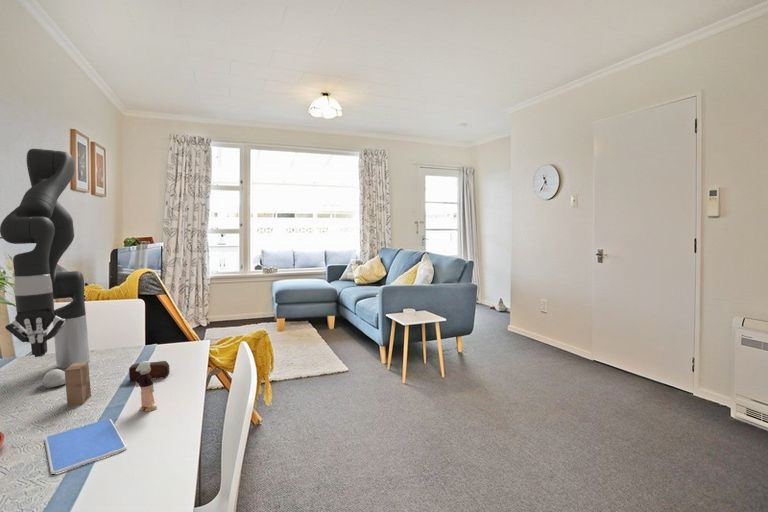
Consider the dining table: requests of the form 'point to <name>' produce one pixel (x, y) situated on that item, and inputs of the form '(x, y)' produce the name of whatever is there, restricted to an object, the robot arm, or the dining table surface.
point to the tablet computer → (83, 445)
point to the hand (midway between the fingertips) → (39, 355)
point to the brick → (156, 371)
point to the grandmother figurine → (145, 386)
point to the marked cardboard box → (77, 383)
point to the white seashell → (54, 378)
